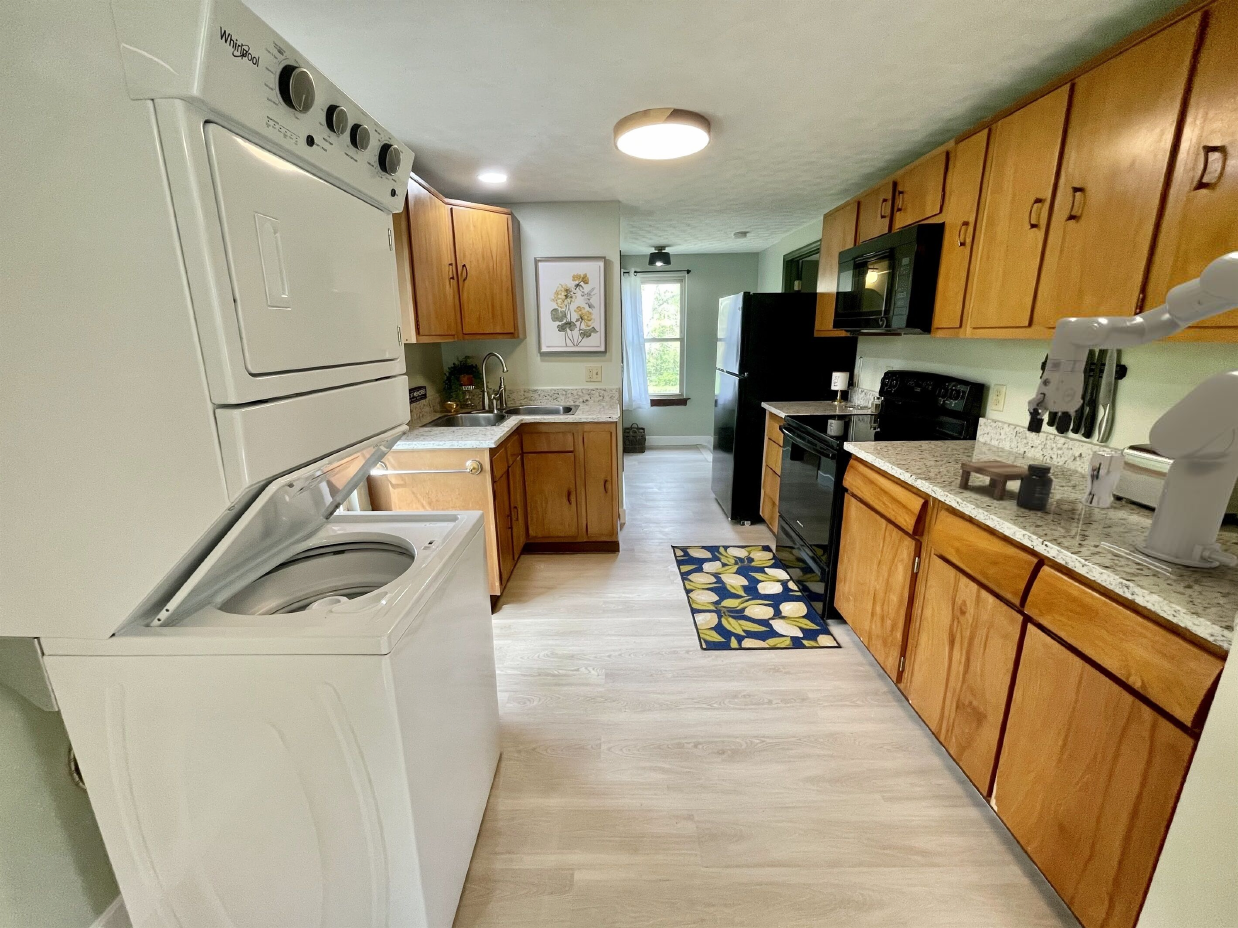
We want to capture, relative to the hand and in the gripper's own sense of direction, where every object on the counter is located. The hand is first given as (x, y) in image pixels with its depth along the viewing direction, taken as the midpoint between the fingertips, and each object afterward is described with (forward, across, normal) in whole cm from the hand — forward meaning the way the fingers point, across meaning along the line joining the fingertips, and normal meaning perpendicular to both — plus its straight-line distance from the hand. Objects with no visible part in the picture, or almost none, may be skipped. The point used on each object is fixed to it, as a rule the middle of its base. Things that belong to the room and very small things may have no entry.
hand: (1047, 431), depth 134 cm
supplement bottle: (+22, 0, -1) cm, 22 cm away
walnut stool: (+22, +3, +12) cm, 25 cm away
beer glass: (+22, +21, -3) cm, 30 cm away
